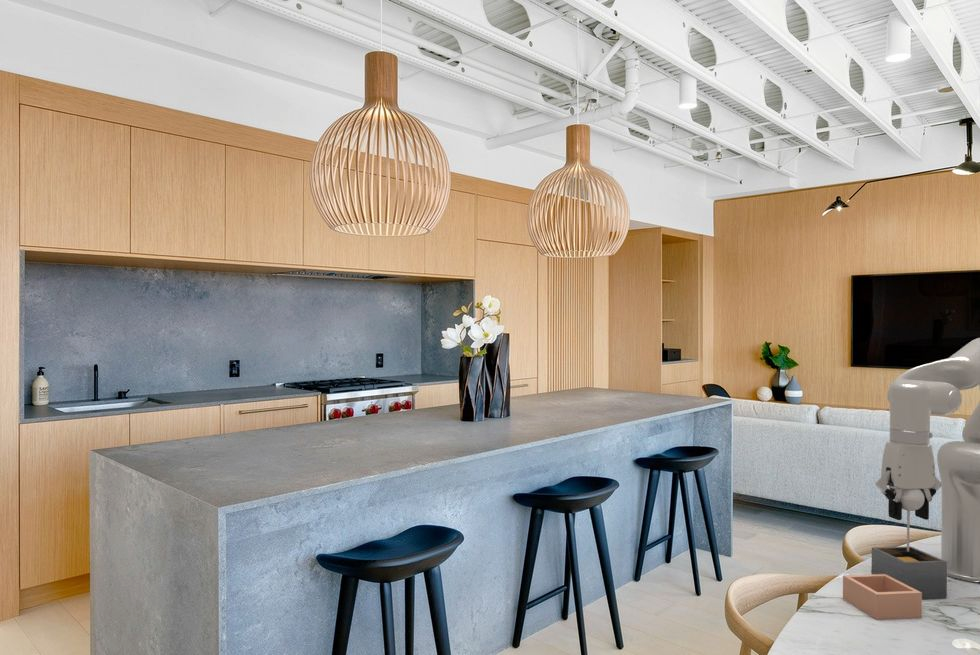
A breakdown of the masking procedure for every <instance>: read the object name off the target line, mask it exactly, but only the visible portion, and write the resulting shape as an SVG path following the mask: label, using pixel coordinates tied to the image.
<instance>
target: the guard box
mask: <svg viewBox="0 0 980 655" xmlns="http://www.w3.org/2000/svg"><path fill="white" fill-rule="evenodd" d="M896 557H911V558H913V559H916V560H918V561H915V562H905V561H903V560H901V559H898V558H896ZM873 574H886V575H888V576H890V577H892V578H894V579H896V580H898V581H900V582H902V583H904V584H906V585H908V586H910V587H912V588H914V589H916V590H918V591H920V592H922V601H923V600H926V601H927V600H944V599H945V600H946V599H947V598H948V596H947V595H948V593H947V592H948V584H947V582H948V576H947V562H946V561H944V560H942V559H941V558H939V557H937V556H934V555H933V554H930V553H928V552H925V551H924V550H921V549H918V548H915V547H913V546H910V545H909V551H907V546H883V547H882V546H880V547H871V574H870V575H873Z"/></svg>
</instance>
